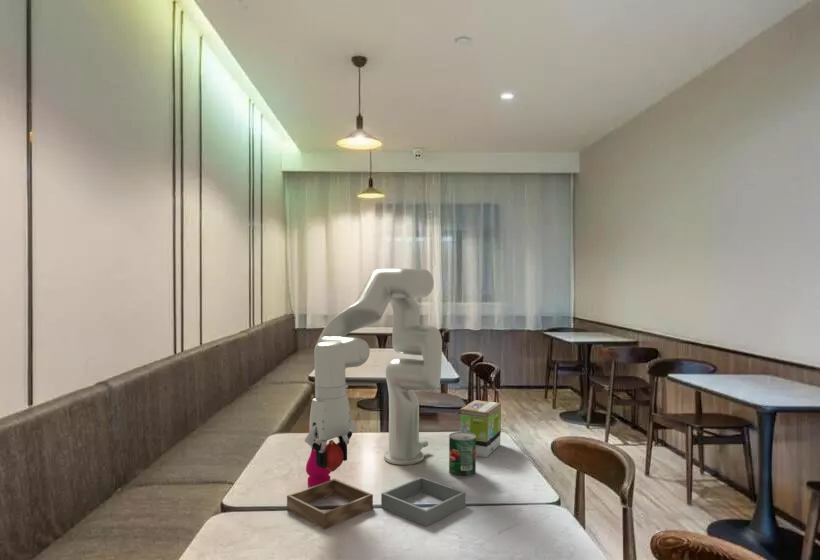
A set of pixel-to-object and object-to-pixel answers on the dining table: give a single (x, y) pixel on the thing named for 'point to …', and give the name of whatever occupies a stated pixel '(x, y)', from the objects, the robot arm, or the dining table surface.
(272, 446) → the dining table surface
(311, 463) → the pepper mill
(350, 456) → the dining table surface
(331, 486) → the walnut bin
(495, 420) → the tea box
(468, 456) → the canned tomato
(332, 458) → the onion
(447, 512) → the grey bin
